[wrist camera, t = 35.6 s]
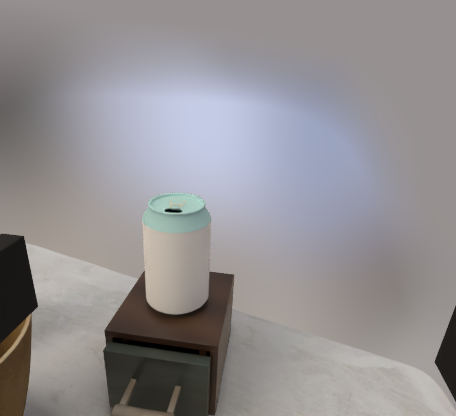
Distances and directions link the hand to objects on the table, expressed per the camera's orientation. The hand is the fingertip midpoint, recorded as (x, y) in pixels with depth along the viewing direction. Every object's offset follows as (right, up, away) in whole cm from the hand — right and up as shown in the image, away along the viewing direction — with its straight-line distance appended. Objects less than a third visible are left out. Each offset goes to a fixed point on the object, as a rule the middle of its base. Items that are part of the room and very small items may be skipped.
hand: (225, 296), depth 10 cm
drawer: (-7, -17, +28) cm, 34 cm away
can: (-6, -8, +29) cm, 30 cm away
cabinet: (-6, -17, +32) cm, 37 cm away
